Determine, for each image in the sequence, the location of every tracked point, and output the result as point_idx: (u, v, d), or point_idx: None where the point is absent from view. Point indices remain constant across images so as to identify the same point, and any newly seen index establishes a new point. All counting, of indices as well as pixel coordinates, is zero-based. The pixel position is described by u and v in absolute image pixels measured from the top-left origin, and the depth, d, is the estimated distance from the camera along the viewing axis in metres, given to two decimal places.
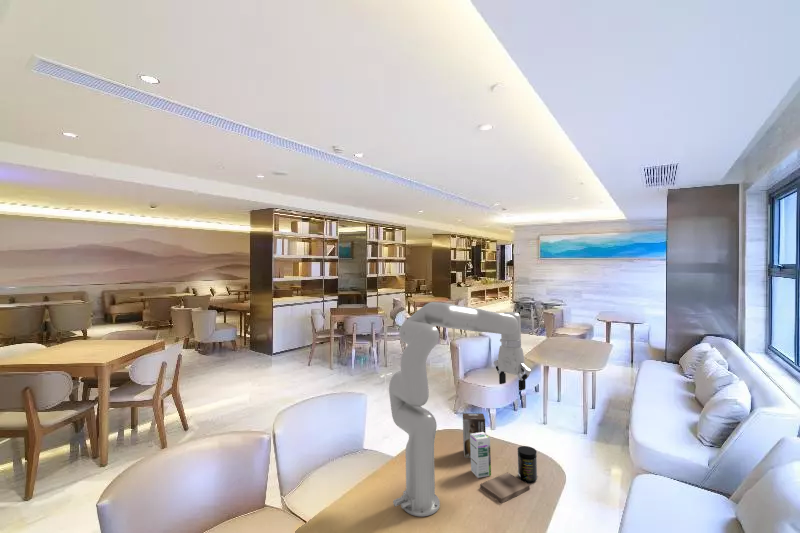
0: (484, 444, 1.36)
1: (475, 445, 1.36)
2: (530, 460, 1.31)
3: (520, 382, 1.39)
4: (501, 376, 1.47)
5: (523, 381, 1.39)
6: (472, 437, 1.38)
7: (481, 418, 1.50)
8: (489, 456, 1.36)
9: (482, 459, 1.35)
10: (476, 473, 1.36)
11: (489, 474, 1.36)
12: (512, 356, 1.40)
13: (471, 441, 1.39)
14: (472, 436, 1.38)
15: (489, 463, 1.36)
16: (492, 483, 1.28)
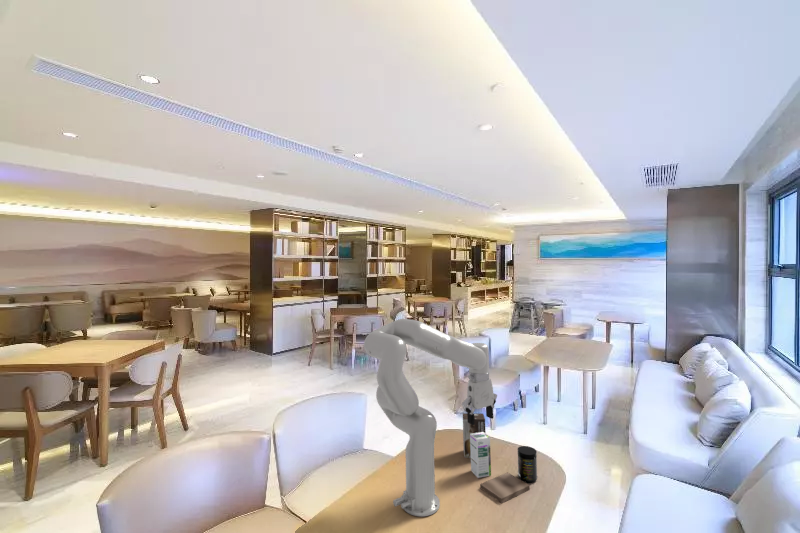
0: (484, 444, 1.36)
1: (475, 445, 1.36)
2: (530, 460, 1.31)
3: None
4: None
5: None
6: (472, 437, 1.38)
7: (481, 418, 1.50)
8: (489, 456, 1.36)
9: (482, 459, 1.35)
10: (476, 473, 1.36)
11: (489, 474, 1.36)
12: (490, 387, 1.38)
13: (471, 441, 1.39)
14: (472, 436, 1.38)
15: (489, 463, 1.36)
16: (492, 483, 1.28)
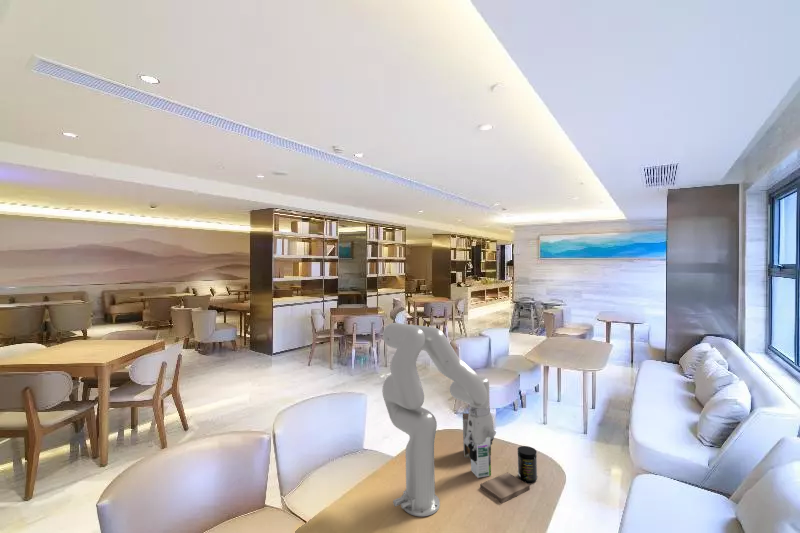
0: (484, 444, 1.36)
1: None
2: (530, 460, 1.31)
3: None
4: None
5: None
6: None
7: None
8: (489, 456, 1.36)
9: (482, 459, 1.35)
10: (476, 473, 1.36)
11: (489, 474, 1.36)
12: (490, 422, 1.38)
13: None
14: None
15: (489, 463, 1.36)
16: (492, 483, 1.28)
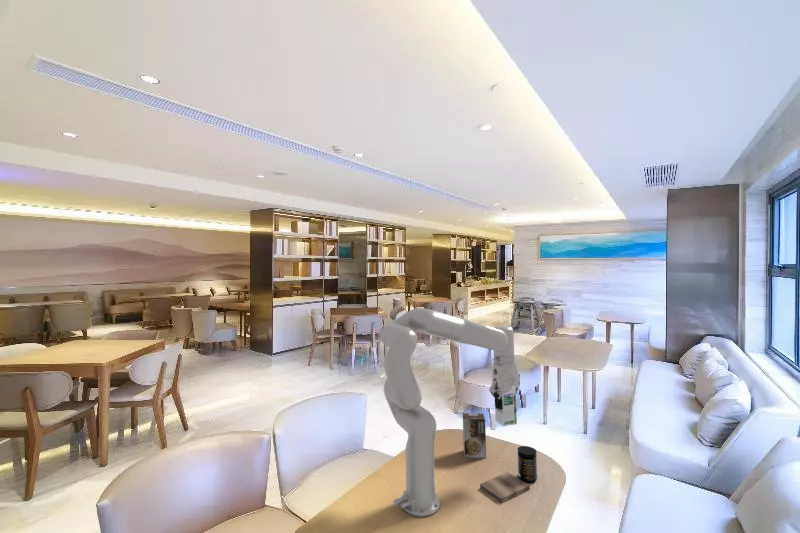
0: (509, 392, 1.34)
1: None
2: (530, 460, 1.31)
3: None
4: None
5: None
6: None
7: (481, 418, 1.50)
8: (514, 404, 1.34)
9: (507, 407, 1.34)
10: (502, 422, 1.34)
11: (515, 422, 1.34)
12: (515, 370, 1.36)
13: None
14: None
15: (515, 412, 1.34)
16: (492, 483, 1.28)
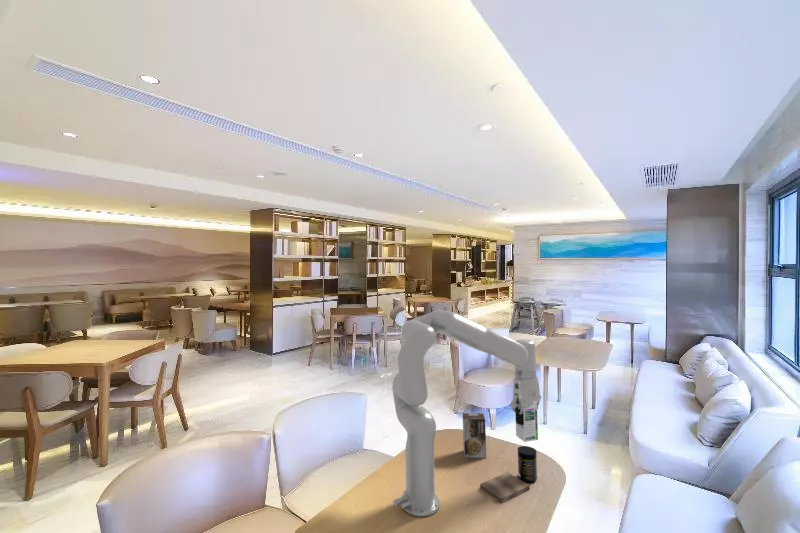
0: (531, 407, 1.32)
1: None
2: (530, 460, 1.31)
3: None
4: None
5: None
6: None
7: (481, 418, 1.50)
8: (536, 420, 1.32)
9: (529, 423, 1.32)
10: (523, 437, 1.32)
11: (536, 438, 1.32)
12: (536, 385, 1.34)
13: None
14: None
15: (536, 427, 1.32)
16: (492, 483, 1.28)
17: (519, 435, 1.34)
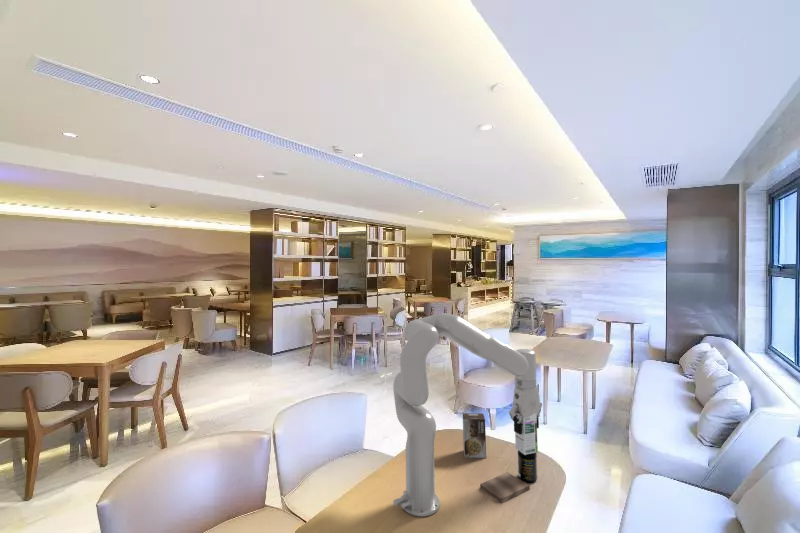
0: (530, 420, 1.32)
1: (521, 421, 1.32)
2: (530, 461, 1.31)
3: None
4: None
5: None
6: None
7: (481, 418, 1.50)
8: (536, 432, 1.32)
9: (529, 435, 1.31)
10: (523, 450, 1.32)
11: (536, 451, 1.32)
12: (536, 395, 1.34)
13: None
14: None
15: (536, 440, 1.32)
16: (492, 483, 1.28)
17: (519, 448, 1.34)
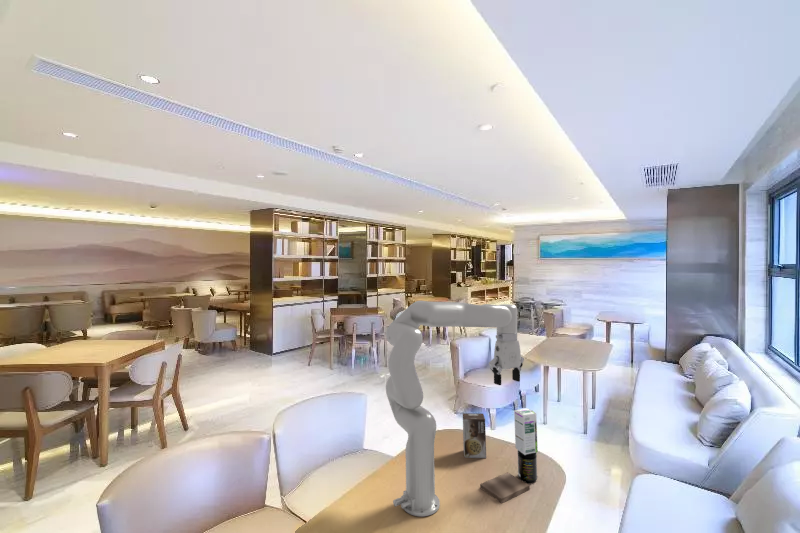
0: (530, 420, 1.32)
1: (521, 421, 1.32)
2: (530, 460, 1.31)
3: None
4: None
5: None
6: (518, 413, 1.34)
7: (481, 418, 1.50)
8: (535, 432, 1.32)
9: (528, 435, 1.31)
10: (522, 450, 1.32)
11: (536, 451, 1.32)
12: (517, 348, 1.36)
13: (516, 418, 1.35)
14: (517, 412, 1.34)
15: (536, 440, 1.32)
16: (492, 483, 1.28)
17: (519, 448, 1.34)
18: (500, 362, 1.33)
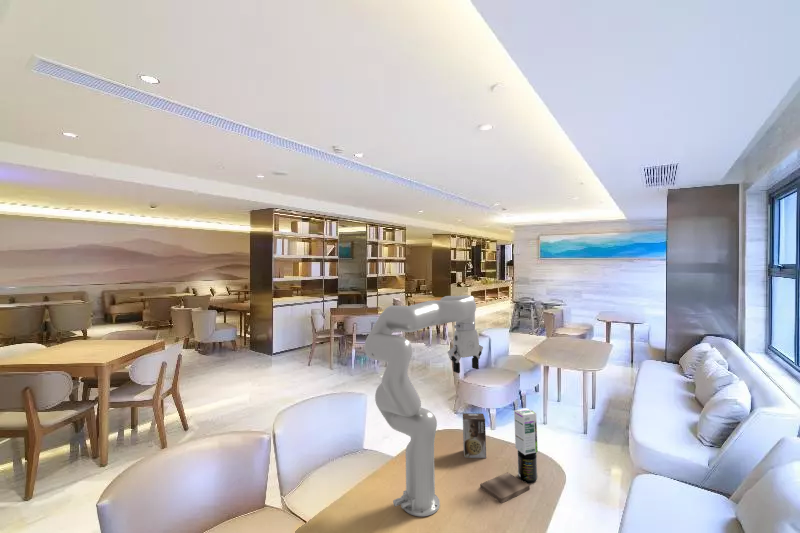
0: (530, 420, 1.32)
1: (521, 421, 1.32)
2: (530, 460, 1.31)
3: None
4: None
5: None
6: (518, 413, 1.34)
7: (481, 418, 1.50)
8: (535, 432, 1.32)
9: (528, 435, 1.31)
10: (522, 450, 1.32)
11: (536, 451, 1.32)
12: (475, 337, 1.41)
13: (516, 418, 1.35)
14: (517, 412, 1.34)
15: (536, 440, 1.32)
16: (492, 483, 1.28)
17: (519, 448, 1.34)
18: (458, 351, 1.38)
